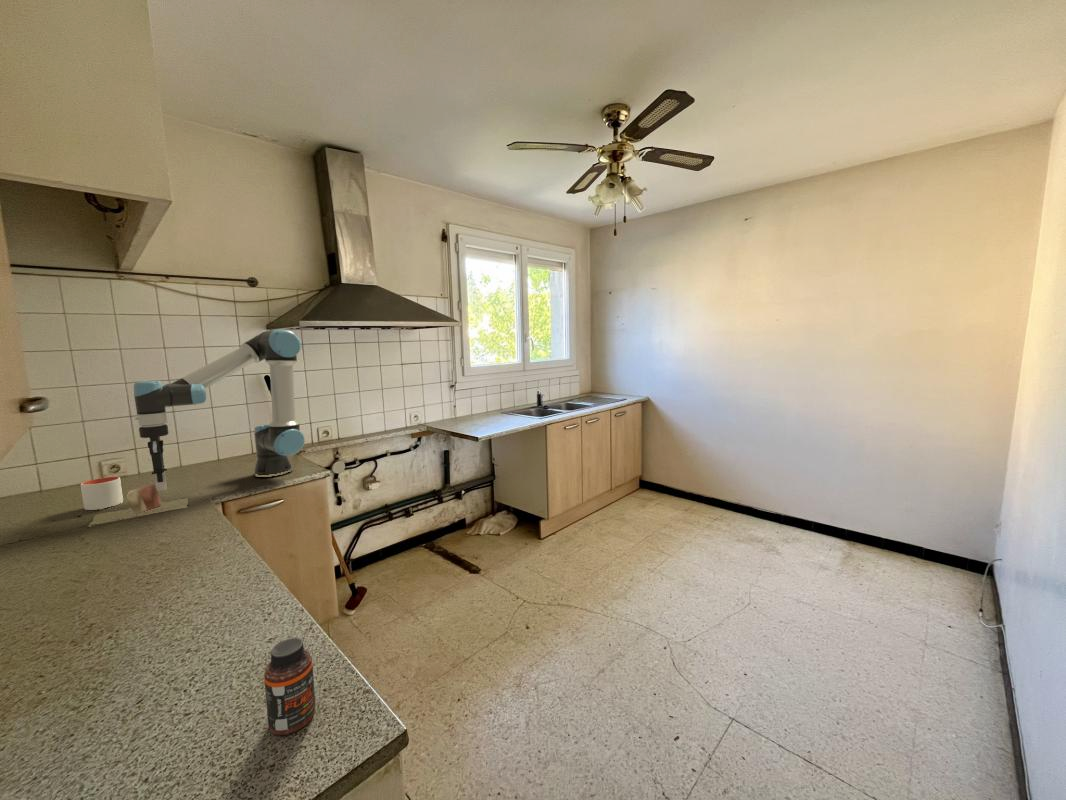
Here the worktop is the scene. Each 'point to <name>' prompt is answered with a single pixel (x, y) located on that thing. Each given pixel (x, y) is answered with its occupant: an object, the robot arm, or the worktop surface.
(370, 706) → the worktop surface
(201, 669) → the worktop surface
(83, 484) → the cup
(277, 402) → the robot arm
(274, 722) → the supplement bottle
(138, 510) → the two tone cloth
